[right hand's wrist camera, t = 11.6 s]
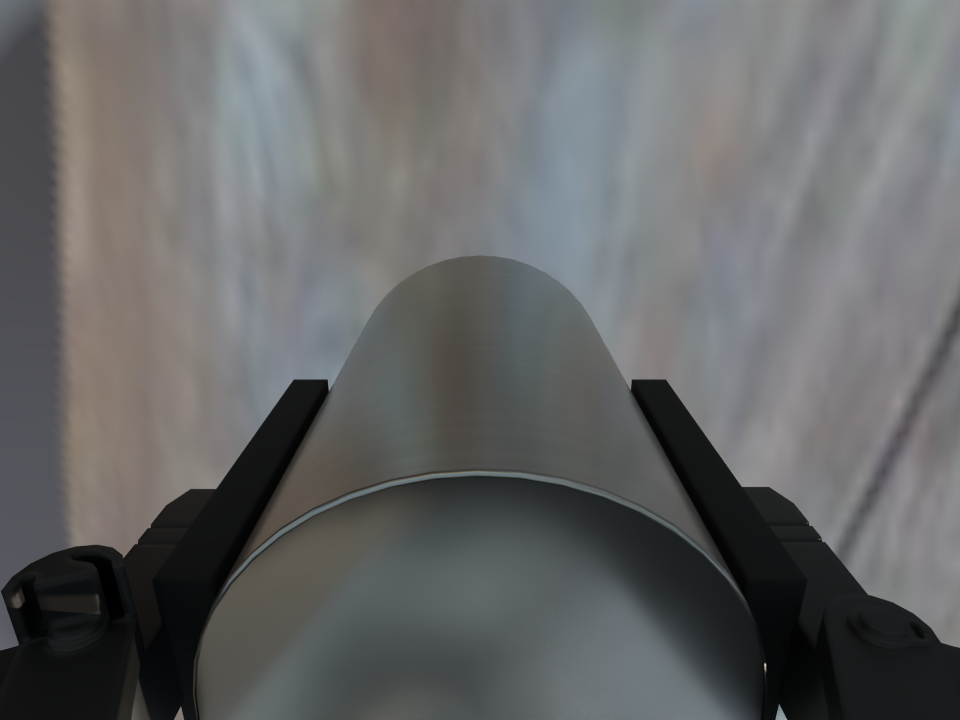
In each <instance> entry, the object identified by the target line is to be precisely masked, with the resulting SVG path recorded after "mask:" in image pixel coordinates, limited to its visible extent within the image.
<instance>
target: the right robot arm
mask: <svg viewBox="0 0 960 720" xmlns="http://www.w3.org/2000/svg"><path fill="white" fill-rule="evenodd" d="M631 392H632V394H633V396H634V398H635V399H636V401H637V403H638V405H639V407H640V409H641V410H642V412H643V414H644V416H645V418H646V419H647V421H648V423H649V425H650V427H651V428H652V430H653V432H654V434H655V436H656V438H657V439H658V441H659V443H660V445H661V447H662V448H663V450H664V452H665V454H666V456H667V457H668V459H669V461H670V463H671V465H672V467H673V468H674V470H675V472H676V474H677V476H678V477H679V479H680V481H681V483H682V485H683V487H684V488H685V490H686V492H687V494H688V496H689V497H690V499H691V501H692V503H693V505H694V506H695V508H696V510H697V512H698V514H699V516H700V517H701V519H702V521H703V523H704V525H705V526H706V528H707V530H708V532H709V534H710V535H711V537H712V539H713V541H714V543H715V545H716V546H717V548H718V550H719V552H720V554H721V555H722V557H723V559H724V561H725V563H726V564H727V566H728V568H729V570H730V572H731V574H732V575H733V577H734V579H735V581H736V583H737V584H738V586H739V588H740V590H741V592H742V594H743V595H744V597H745V599H746V601H747V603H748V605H749V608H750V610H751V612H752V614H753V617H754V619H755V621H756V623H757V626H758V628H759V632H760V636H761V640H762V644H763V648H764V652H765V656H766V669H767V687H768V688H767V697H766V706H765V714H764V719H763V720H775V719H776V714H777V710H778V706H779V704H780V706H781V708H782V710H783V712H784V714H785V716H786V718H787V720H960V648H958V647H954V646H950V645H947V644H943V643H941V642H940V641H939V639H938V638H937V636H936V635H935V633H934V632H933V631H932V629H931V628H930V627H929V626H928V625H927V624H925V623H924V622H923V621H922V620H921V619H919V618H918V617H917V616H916V615H915V614H913V613H911V612H909V611H908V610H906V609H904V608H902V607H900V606H898V605H896V604H895V603H893V602H890V601H886V600H883V599H880V598H877V597H874V596H871V595H868V594H867V593H866V592H865V591H864V589H863V588H862V587H861V586H860V584H859V583H858V582H857V581H856V580H855V578H854V577H853V576H852V575H851V573H850V572H849V571H848V570H847V568H846V567H845V566H844V565H843V564H842V562H841V561H840V560H839V559H838V557H837V556H836V555H835V554H834V552H833V551H832V550H831V549H830V548H829V546H828V545H827V544H826V543H825V542H822V538H821V536H820V535H819V534H818V533H817V532H816V530H815V529H814V528H813V527H812V526H809V522H808V520H807V519H806V518H805V517H804V516H803V514H802V513H801V512H800V511H799V509H798V508H797V507H796V506H795V504H794V503H792V502H791V501H789V500H788V499H786V498H785V497H783V496H782V495H780V494H779V493H777V492H776V491H774V490H773V489H771V488H770V487H741V485H740V484H739V482H738V481H737V480H736V478H735V477H734V475H733V474H732V473H731V471H730V470H729V468H728V467H727V465H726V464H725V463H724V461H723V460H722V458H721V457H720V456H719V454H718V453H717V451H716V450H715V448H714V447H713V446H712V444H711V443H710V441H709V440H708V439H707V437H706V436H705V434H704V433H703V432H702V430H701V429H700V427H699V426H698V424H697V423H696V422H695V420H694V419H693V417H692V416H691V415H690V413H689V412H688V410H687V409H686V408H685V406H684V405H683V403H682V402H681V400H680V399H679V398H678V396H677V395H676V393H675V392H674V391H673V389H672V388H671V386H670V385H669V383H668V382H667V381H666V380H632V385H631ZM328 393H329V389H328V380H293V381H292V383H291V384H290V386H289V387H288V389H287V390H286V391H285V393H284V394H283V396H282V397H281V398H280V400H279V401H278V403H277V404H276V406H275V407H274V408H273V410H272V411H271V413H270V414H269V415H268V417H267V418H266V420H265V421H264V422H263V424H262V425H261V427H260V428H259V430H258V431H257V432H256V434H255V435H254V437H253V438H252V439H251V441H250V442H249V444H248V445H247V446H246V448H245V449H244V451H243V452H242V454H241V455H240V456H239V458H238V459H237V461H236V462H235V463H234V465H233V466H232V468H231V469H230V470H229V472H228V473H227V475H226V476H225V478H224V479H223V480H222V482H221V483H220V485H219V486H218V487H217V489H190V490H189V491H187V492H186V493H184V494H183V495H181V496H180V497H178V498H177V499H175V500H174V501H172V502H171V503H169V504H168V505H166V506H165V508H164V509H163V510H162V511H161V513H160V514H159V515H158V516H157V518H156V519H155V520H154V521H153V523H152V524H151V528H148V529H147V530H146V531H145V532H144V534H143V535H142V536H141V537H140V539H139V540H138V544H135V545H134V546H133V547H132V549H131V550H130V551H129V552H128V554H127V555H126V556H125V557H124V559H123V556H122V554H120V553H119V552H118V551H116V550H115V549H114V548H112V547H106V546H101V545H88V546H77V547H73V548H69V549H66V550H62V551H59V552H55V553H52V554H50V555H48V556H46V557H44V558H41V559H39V560H37V561H35V562H33V563H31V564H29V565H28V566H27V567H25V568H24V569H23V570H21V571H20V572H18V573H17V574H16V575H14V576H13V577H12V578H11V579H10V580H9V582H8V583H7V584H6V586H5V587H4V588H3V589H2V591H1V593H2V596H3V599H4V602H5V604H6V607H7V610H8V613H9V616H10V619H11V622H12V625H13V628H14V631H15V634H16V637H17V639H18V642H19V645H18V646H16V647H12V648H9V649H5V650H1V651H0V720H174V718H175V716H176V714H177V713H178V711H179V709H180V707H181V708H182V712H183V716H184V720H197V716H196V709H195V702H194V696H193V681H194V660H195V655H196V650H197V646H198V641H199V636H200V632H201V630H202V628H203V625H204V623H205V620H206V618H207V615H208V613H209V611H210V608H211V606H212V604H213V602H214V600H215V598H216V596H217V595H218V593H219V591H220V589H221V587H222V585H223V584H224V582H225V580H226V578H227V576H228V575H229V573H230V571H231V569H232V567H233V565H234V564H235V562H236V560H237V558H238V556H239V555H240V553H241V551H242V549H243V547H244V546H245V544H246V542H247V540H248V538H249V536H250V535H251V533H252V531H253V529H254V527H255V526H256V524H257V522H258V520H259V518H260V516H261V515H262V513H263V511H264V509H265V507H266V506H267V504H268V502H269V500H270V498H271V496H272V495H273V493H274V491H275V489H276V487H277V486H278V484H279V482H280V480H281V478H282V476H283V475H284V473H285V471H286V469H287V467H288V466H289V464H290V462H291V460H292V458H293V456H294V455H295V453H296V451H297V449H298V447H299V446H300V444H301V442H302V440H303V438H304V436H305V435H306V433H307V431H308V429H309V427H310V426H311V424H312V422H313V420H314V418H315V416H316V415H317V413H318V411H319V409H320V407H321V406H322V404H323V402H324V400H325V398H326V396H327V395H328Z"/></svg>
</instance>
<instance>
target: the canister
mask: <svg viewBox="0 0 960 720" xmlns="http://www.w3.org/2000/svg"><path fill="white" fill-rule="evenodd" d="M767 688H768V687H767V669H766V656H765V652H764V648H763V644H762V640H761V636H760V632H759V628H758V626H757V623H756V621H755V619H754V617H753V614H752V612H751V610H750V608H749V605H748V603H747V601H746V599H745V597H744V595H743V594H742V592H741V590H740V588H739V586H738V584H737V583H736V581H735V579H734V577H733V575H732V574H731V572H730V570H729V568H728V566H727V564H726V563H725V561H724V559H723V557H722V555H721V554H720V552H719V550H718V548H717V546H716V545H715V543H714V541H713V539H712V537H711V535H710V534H709V532H708V530H707V528H706V526H705V525H704V523H703V521H702V519H701V517H700V516H699V514H698V512H697V510H696V508H695V506H694V505H693V503H692V501H691V499H690V497H689V496H688V494H687V492H686V490H685V488H684V487H683V485H682V483H681V481H680V479H679V477H678V476H677V474H676V472H675V470H674V468H673V467H672V465H671V463H670V461H669V459H668V457H667V456H666V454H665V452H664V450H663V448H662V447H661V445H660V443H659V441H658V439H657V438H656V436H655V434H654V432H653V430H652V428H651V427H650V425H649V423H648V421H647V419H646V418H645V416H644V414H643V412H642V410H641V409H640V407H639V405H638V403H637V401H636V399H635V398H634V396H633V394H632V392H631V390H630V389H629V387H628V385H627V383H626V381H625V380H624V378H623V376H622V374H621V372H620V370H619V369H618V367H617V365H616V363H615V361H614V360H613V358H612V356H611V354H610V352H609V351H608V349H607V347H606V345H605V343H604V341H603V340H602V338H601V336H600V334H599V332H598V331H597V329H596V327H595V325H594V323H593V321H592V320H591V318H590V316H589V315H588V313H587V312H586V310H585V309H584V307H583V306H582V304H581V303H580V302H579V301H578V300H577V299H576V297H575V296H574V295H573V294H572V293H571V292H570V291H569V290H568V289H567V288H566V287H564V286H563V285H562V284H561V283H560V282H559V281H557V280H556V279H554V278H552V277H551V276H549V275H548V274H546V273H545V272H543V271H541V270H539V269H537V268H534V267H532V266H530V265H528V264H524V263H521V262H518V261H515V260H512V259H506V258H501V257H494V256H468V257H459V258H454V259H449V260H445V261H442V262H439V263H436V264H433V265H430V266H428V267H426V268H424V269H422V270H420V271H418V272H416V273H414V274H412V275H411V276H409V277H408V278H406V279H405V280H403V281H402V282H400V283H399V284H398V285H397V286H396V287H395V288H394V289H392V290H391V291H390V292H389V293H388V294H387V295H386V296H385V297H384V299H383V300H382V301H381V302H380V304H379V305H378V306H377V307H376V309H375V310H374V312H373V314H372V315H371V317H370V319H369V320H368V322H367V324H366V326H365V327H364V329H363V331H362V333H361V335H360V336H359V338H358V340H357V342H356V344H355V346H354V347H353V349H352V351H351V353H350V355H349V356H348V358H347V360H346V362H345V364H344V366H343V367H342V369H341V371H340V373H339V375H338V376H337V378H336V380H335V382H334V384H333V386H332V387H331V389H330V391H329V393H328V395H327V396H326V398H325V400H324V402H323V404H322V406H321V407H320V409H319V411H318V413H317V415H316V416H315V418H314V420H313V422H312V424H311V426H310V427H309V429H308V431H307V433H306V435H305V436H304V438H303V440H302V442H301V444H300V446H299V447H298V449H297V451H296V453H295V455H294V456H293V458H292V460H291V462H290V464H289V466H288V467H287V469H286V471H285V473H284V475H283V476H282V478H281V480H280V482H279V484H278V486H277V487H276V489H275V491H274V493H273V495H272V496H271V498H270V500H269V502H268V504H267V506H266V507H265V509H264V511H263V513H262V515H261V516H260V518H259V520H258V522H257V524H256V526H255V527H254V529H253V531H252V533H251V535H250V536H249V538H248V540H247V542H246V544H245V546H244V547H243V549H242V551H241V553H240V555H239V556H238V558H237V560H236V562H235V564H234V565H233V567H232V569H231V571H230V573H229V575H228V576H227V578H226V580H225V582H224V584H223V585H222V587H221V589H220V591H219V593H218V595H217V596H216V598H215V600H214V602H213V604H212V606H211V608H210V611H209V613H208V615H207V618H206V620H205V623H204V625H203V628H202V630H201V632H200V636H199V641H198V646H197V650H196V655H195V660H194V681H193V696H194V702H195V709H196V716H197V720H763V719H764V714H765V706H766V697H767Z"/></svg>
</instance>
